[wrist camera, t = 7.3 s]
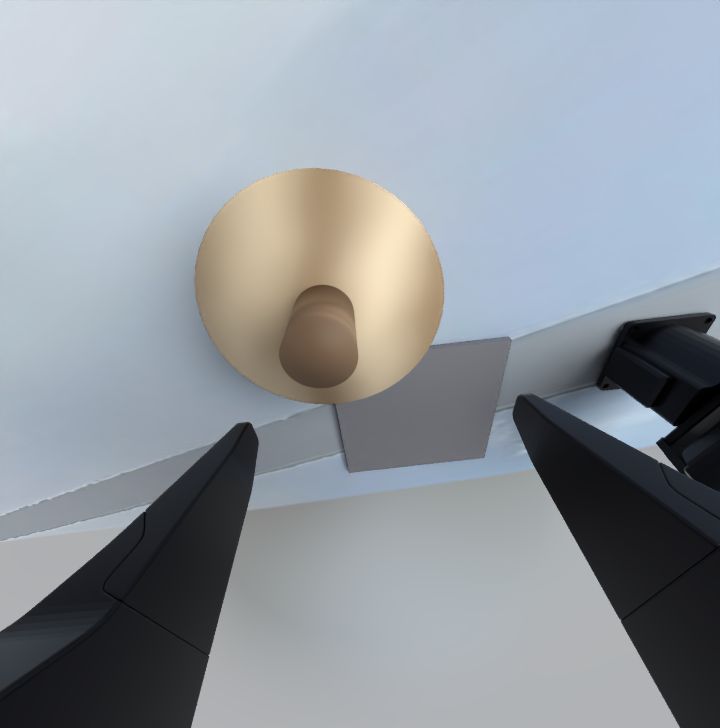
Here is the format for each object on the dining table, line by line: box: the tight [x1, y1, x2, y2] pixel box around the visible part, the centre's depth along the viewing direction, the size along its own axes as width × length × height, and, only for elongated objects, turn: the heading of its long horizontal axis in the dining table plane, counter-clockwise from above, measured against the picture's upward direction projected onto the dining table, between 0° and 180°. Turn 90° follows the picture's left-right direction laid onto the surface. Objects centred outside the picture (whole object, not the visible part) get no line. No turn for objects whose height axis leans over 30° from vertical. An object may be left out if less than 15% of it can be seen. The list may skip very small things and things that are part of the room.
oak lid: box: [195, 168, 444, 404], centre depth 13 cm, size 12×12×5 cm
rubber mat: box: [336, 337, 511, 473], centre depth 26 cm, size 14×14×1 cm
